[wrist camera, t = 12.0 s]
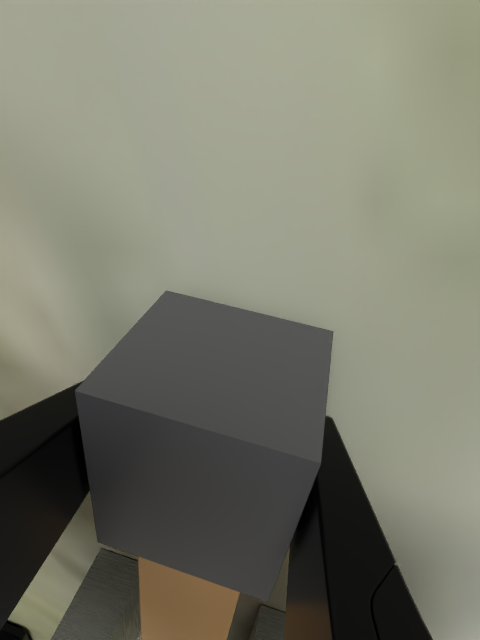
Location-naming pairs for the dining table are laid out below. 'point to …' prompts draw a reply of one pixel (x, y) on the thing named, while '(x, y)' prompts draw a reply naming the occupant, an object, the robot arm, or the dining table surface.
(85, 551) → the dining table surface
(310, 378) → the plug
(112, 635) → the frame
